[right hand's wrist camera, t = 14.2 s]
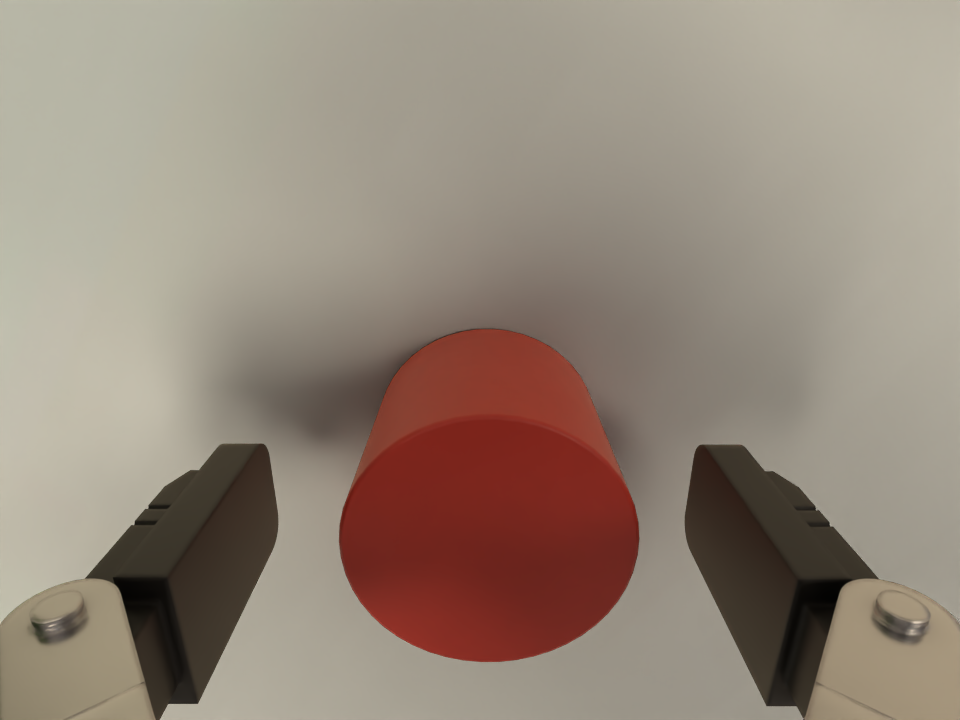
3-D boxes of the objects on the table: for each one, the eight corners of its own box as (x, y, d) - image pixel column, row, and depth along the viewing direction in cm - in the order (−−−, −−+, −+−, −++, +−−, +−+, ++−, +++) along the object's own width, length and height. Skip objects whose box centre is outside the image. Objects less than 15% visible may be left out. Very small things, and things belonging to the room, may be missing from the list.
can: (380, 514, 15) (342, 658, 11) (378, 322, 13) (332, 408, 9) (581, 524, 15) (618, 669, 11) (607, 333, 13) (663, 424, 9)
